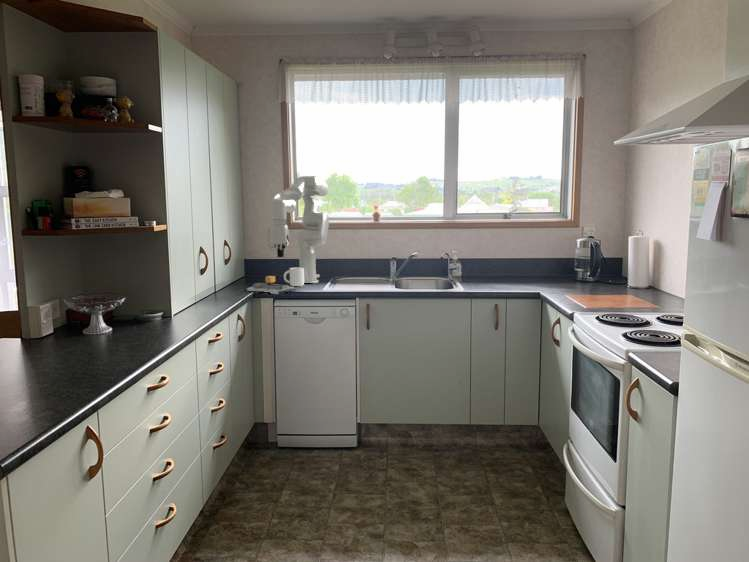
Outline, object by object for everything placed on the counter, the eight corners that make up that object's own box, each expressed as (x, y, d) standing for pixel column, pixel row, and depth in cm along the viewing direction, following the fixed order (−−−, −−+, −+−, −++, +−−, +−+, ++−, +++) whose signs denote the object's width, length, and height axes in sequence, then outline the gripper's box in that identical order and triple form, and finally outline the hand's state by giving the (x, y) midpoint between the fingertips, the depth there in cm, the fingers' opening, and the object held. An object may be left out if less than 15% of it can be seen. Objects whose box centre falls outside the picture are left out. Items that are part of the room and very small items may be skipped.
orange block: (270, 286, 332) (270, 275, 331) (275, 286, 331) (275, 276, 330) (265, 287, 329) (265, 276, 328) (271, 287, 327) (270, 277, 326)
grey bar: (294, 290, 331) (294, 288, 330) (296, 290, 330) (296, 288, 330) (279, 294, 319) (279, 291, 319) (281, 294, 318) (281, 291, 318)
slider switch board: (263, 287, 341) (263, 281, 341) (294, 290, 331) (293, 284, 331) (247, 291, 329) (247, 285, 328) (278, 294, 319) (278, 287, 318)
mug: (282, 287, 344) (281, 269, 342) (285, 284, 352) (285, 267, 350) (302, 287, 342) (302, 269, 341) (306, 284, 350) (305, 267, 349)
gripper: (263, 222, 321) (265, 257, 324) (286, 223, 314) (287, 258, 317) (272, 222, 328) (273, 255, 330) (295, 222, 321) (296, 257, 323)
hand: (280, 256), depth 324 cm, fingers closed
